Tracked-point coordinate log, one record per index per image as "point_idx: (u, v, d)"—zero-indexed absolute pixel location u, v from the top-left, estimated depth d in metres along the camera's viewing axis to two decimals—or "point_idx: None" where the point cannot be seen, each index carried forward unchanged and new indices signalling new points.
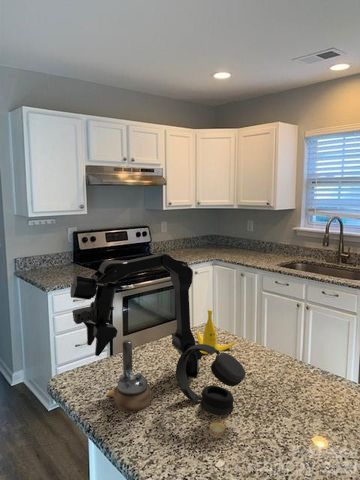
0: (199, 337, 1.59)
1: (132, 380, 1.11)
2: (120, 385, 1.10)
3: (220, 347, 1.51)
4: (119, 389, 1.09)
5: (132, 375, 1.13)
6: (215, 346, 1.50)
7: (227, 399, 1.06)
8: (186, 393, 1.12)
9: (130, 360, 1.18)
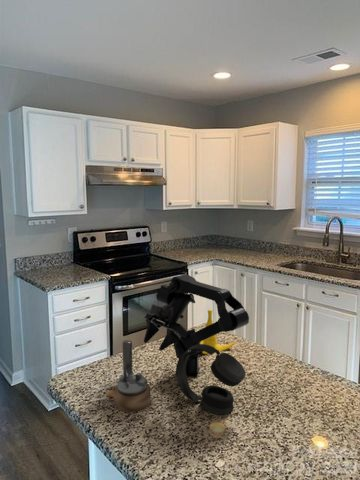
0: None
1: (132, 380, 1.11)
2: (120, 385, 1.10)
3: (220, 347, 1.51)
4: (119, 389, 1.09)
5: (132, 375, 1.13)
6: (215, 346, 1.50)
7: (227, 399, 1.06)
8: (186, 393, 1.12)
9: (130, 360, 1.18)
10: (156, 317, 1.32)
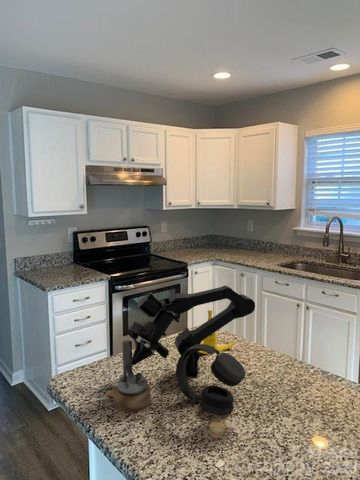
0: None
1: (132, 380, 1.11)
2: (120, 385, 1.10)
3: (220, 347, 1.51)
4: (119, 389, 1.09)
5: (132, 375, 1.13)
6: (215, 346, 1.50)
7: (227, 399, 1.06)
8: (186, 393, 1.12)
9: (130, 360, 1.18)
10: (138, 334, 1.27)
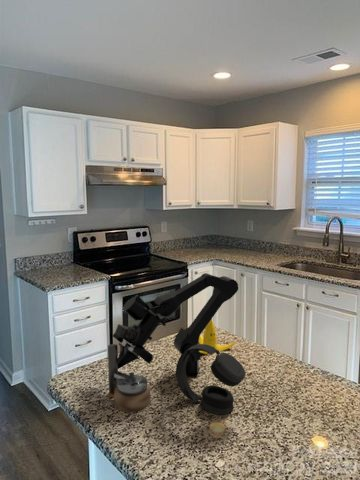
0: (199, 337, 1.59)
1: (133, 380, 1.11)
2: (126, 388, 1.08)
3: (220, 347, 1.51)
4: (126, 392, 1.07)
5: (128, 376, 1.13)
6: (215, 346, 1.50)
7: (227, 399, 1.06)
8: (186, 393, 1.12)
9: (117, 363, 1.16)
10: None
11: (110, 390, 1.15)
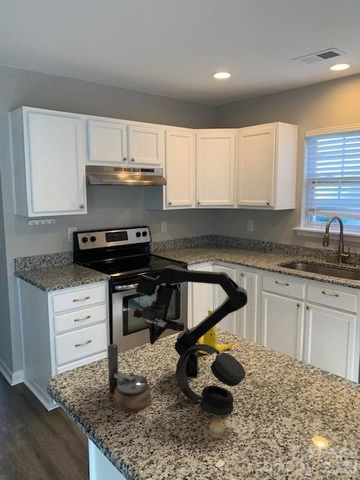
0: None
1: (133, 380, 1.11)
2: (126, 388, 1.08)
3: (220, 347, 1.51)
4: (126, 392, 1.07)
5: (128, 376, 1.13)
6: (215, 346, 1.50)
7: (227, 399, 1.06)
8: (186, 393, 1.12)
9: (117, 363, 1.16)
10: None
11: (110, 390, 1.15)
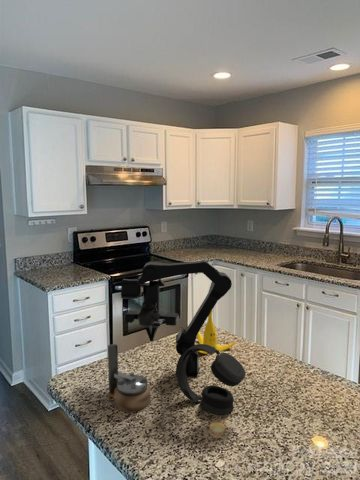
0: (199, 337, 1.59)
1: (133, 380, 1.11)
2: (126, 388, 1.08)
3: (220, 347, 1.51)
4: (126, 392, 1.07)
5: (128, 376, 1.13)
6: (215, 346, 1.50)
7: (227, 399, 1.06)
8: (186, 393, 1.12)
9: (117, 363, 1.16)
10: (135, 314, 1.28)
11: (110, 390, 1.15)
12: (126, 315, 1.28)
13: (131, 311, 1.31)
